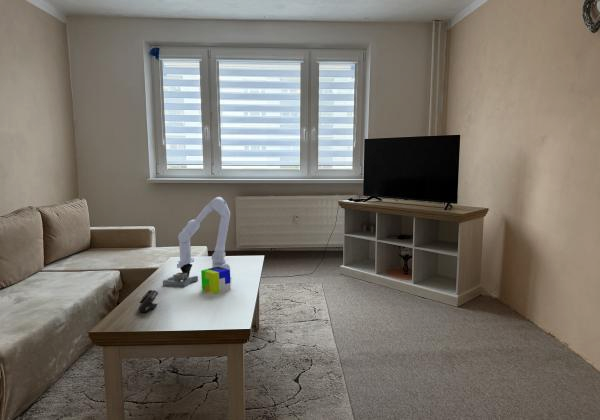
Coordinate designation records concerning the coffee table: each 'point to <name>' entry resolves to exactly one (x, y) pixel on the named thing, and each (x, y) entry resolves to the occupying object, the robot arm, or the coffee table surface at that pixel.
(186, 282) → the chassis bay
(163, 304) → the coffee table surface
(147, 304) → the black angular device
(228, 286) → the puzzle toy
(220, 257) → the robot arm
